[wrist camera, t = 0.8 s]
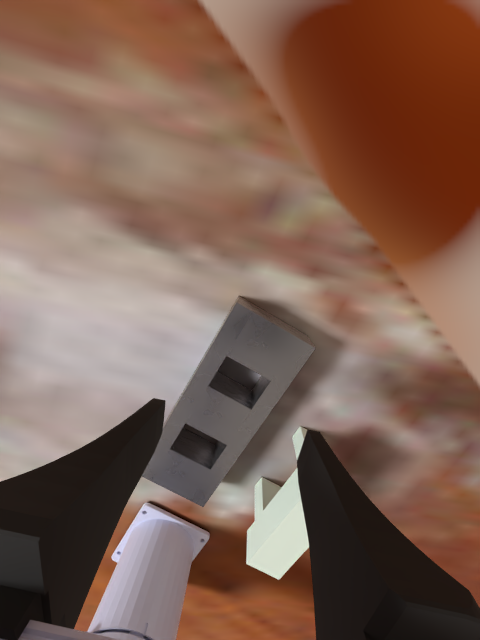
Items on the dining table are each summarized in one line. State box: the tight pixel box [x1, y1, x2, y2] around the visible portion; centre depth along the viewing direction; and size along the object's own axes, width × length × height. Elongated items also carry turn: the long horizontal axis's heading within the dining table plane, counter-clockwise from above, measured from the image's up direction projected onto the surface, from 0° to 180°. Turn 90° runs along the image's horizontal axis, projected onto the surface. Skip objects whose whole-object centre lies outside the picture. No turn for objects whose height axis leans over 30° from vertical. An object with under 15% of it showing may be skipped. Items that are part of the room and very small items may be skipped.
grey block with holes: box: [142, 296, 315, 507], centre depth 22 cm, size 18×7×3 cm, turn 150°
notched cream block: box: [246, 426, 309, 580], centre depth 22 cm, size 10×3×6 cm, turn 150°
